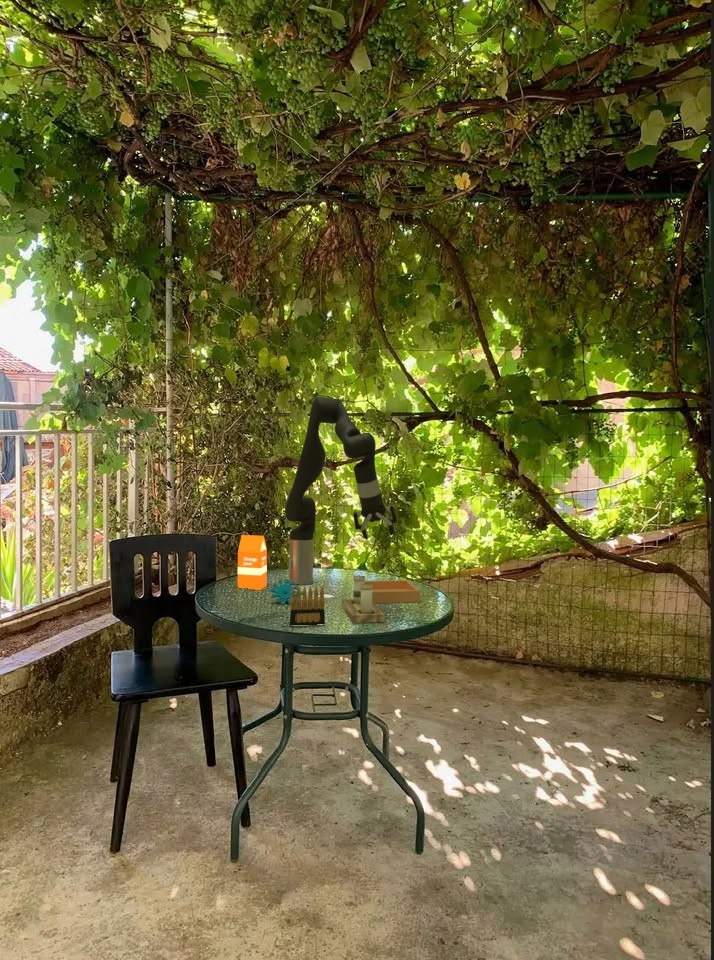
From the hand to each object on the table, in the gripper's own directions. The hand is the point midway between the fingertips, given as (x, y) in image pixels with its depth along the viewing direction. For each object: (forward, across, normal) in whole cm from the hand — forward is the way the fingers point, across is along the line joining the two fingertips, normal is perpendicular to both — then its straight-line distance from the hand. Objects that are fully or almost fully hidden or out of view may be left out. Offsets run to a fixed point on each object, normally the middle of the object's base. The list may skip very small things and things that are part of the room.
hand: (379, 536), depth 237 cm
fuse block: (+18, +9, +18) cm, 27 cm away
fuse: (+17, +8, +24) cm, 30 cm away
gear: (+16, +36, +5) cm, 40 cm away
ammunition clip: (+12, +24, +31) cm, 41 cm away
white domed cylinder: (+20, +11, +11) cm, 25 cm away
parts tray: (+26, +2, -6) cm, 27 cm away
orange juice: (+18, +52, -15) cm, 57 cm away
